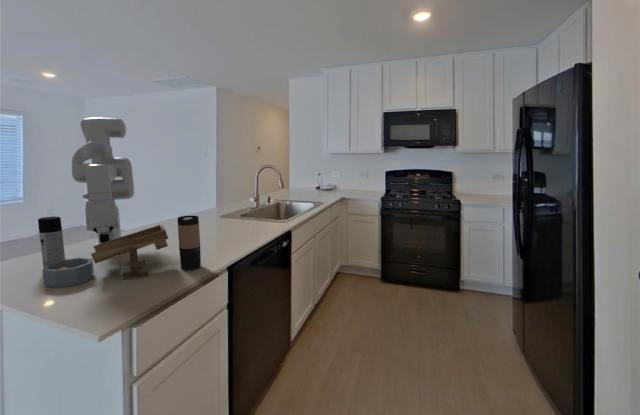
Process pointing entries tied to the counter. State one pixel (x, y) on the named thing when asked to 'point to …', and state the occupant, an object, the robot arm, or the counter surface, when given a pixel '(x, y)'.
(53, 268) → the octagonal bowl
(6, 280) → the counter surface
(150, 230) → the lever tray
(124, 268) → the pivot stand
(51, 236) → the spray can
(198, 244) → the travel mug
